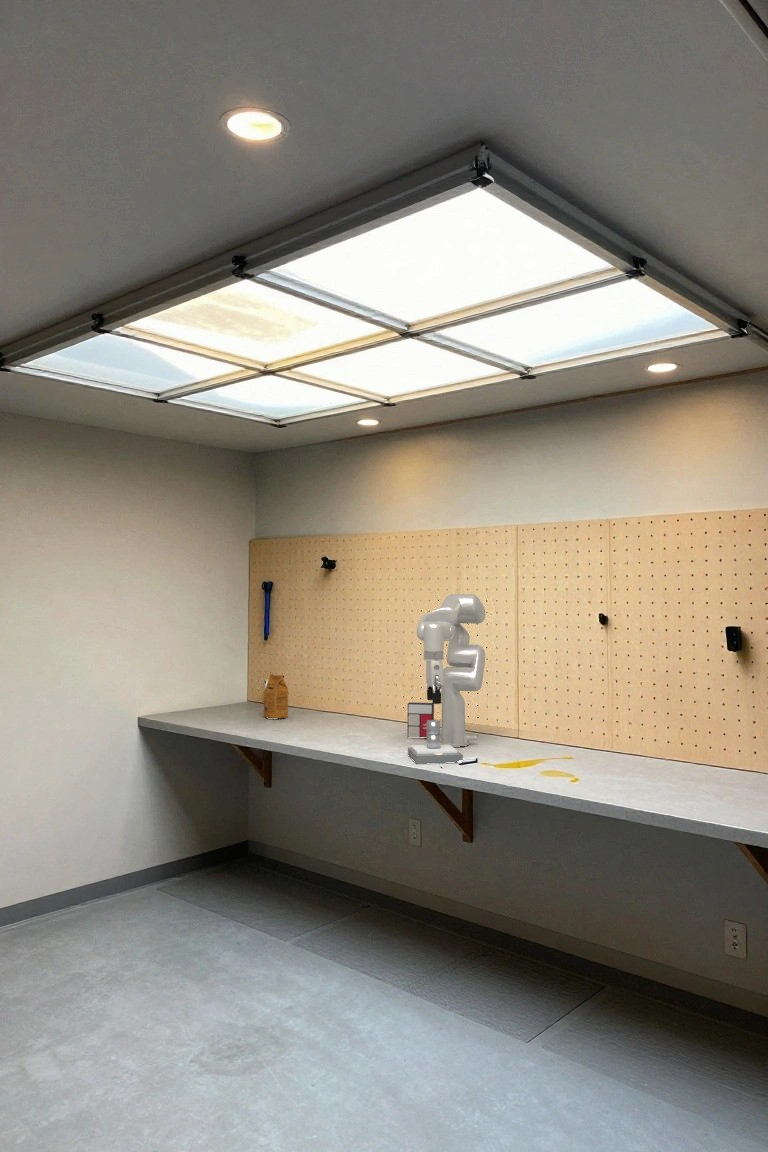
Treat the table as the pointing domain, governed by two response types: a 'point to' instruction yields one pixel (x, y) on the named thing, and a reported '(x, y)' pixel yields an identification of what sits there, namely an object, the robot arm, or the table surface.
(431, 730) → the spacer
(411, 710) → the grey and red box
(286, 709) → the coffee package
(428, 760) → the block
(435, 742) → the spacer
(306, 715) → the table surface
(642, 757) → the table surface
